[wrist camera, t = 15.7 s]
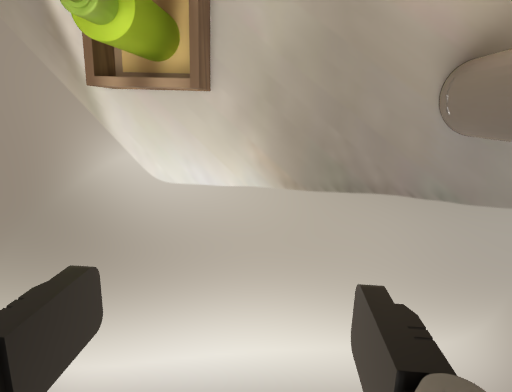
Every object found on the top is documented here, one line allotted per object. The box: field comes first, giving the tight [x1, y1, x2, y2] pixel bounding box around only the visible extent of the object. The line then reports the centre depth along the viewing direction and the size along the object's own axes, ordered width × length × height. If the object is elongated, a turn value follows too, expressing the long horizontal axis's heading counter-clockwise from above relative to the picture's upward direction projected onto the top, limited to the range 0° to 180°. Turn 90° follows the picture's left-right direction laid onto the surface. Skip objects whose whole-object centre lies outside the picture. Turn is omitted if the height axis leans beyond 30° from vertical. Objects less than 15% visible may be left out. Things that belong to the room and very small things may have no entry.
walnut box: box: [82, 0, 210, 91], centre depth 40 cm, size 13×13×6 cm
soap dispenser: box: [60, 0, 180, 62], centre depth 33 cm, size 6×7×20 cm
